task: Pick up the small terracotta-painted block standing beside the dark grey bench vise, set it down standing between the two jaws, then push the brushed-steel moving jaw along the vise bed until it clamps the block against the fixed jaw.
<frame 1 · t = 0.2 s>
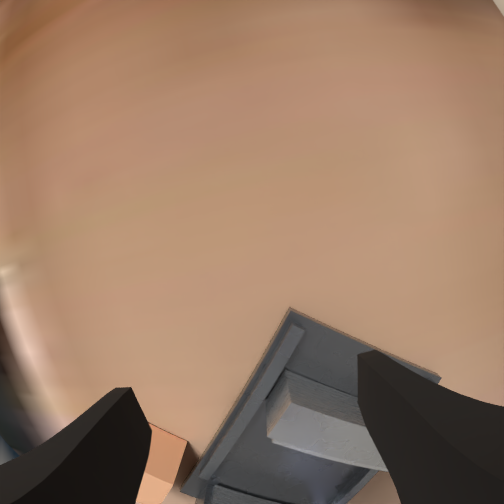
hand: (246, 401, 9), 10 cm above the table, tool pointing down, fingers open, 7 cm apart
vise: (293, 460, 20), on the table
block: (155, 445, 20), on the table
moving jaw: (345, 428, 17), point 3 cm above the table, slide at 0.0 cm
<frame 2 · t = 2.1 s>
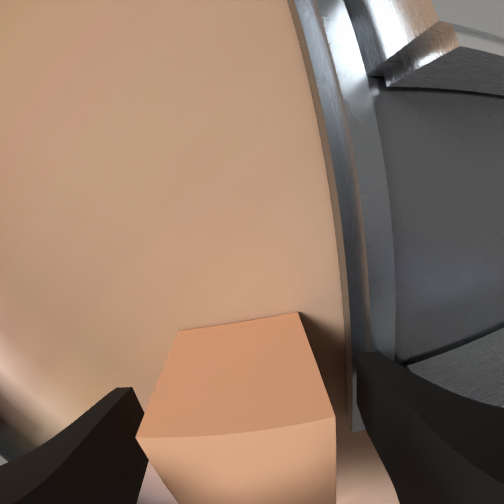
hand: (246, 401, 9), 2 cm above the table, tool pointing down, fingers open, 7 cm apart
vise: (488, 215, 9), on the table
block: (248, 371, 11), on the table
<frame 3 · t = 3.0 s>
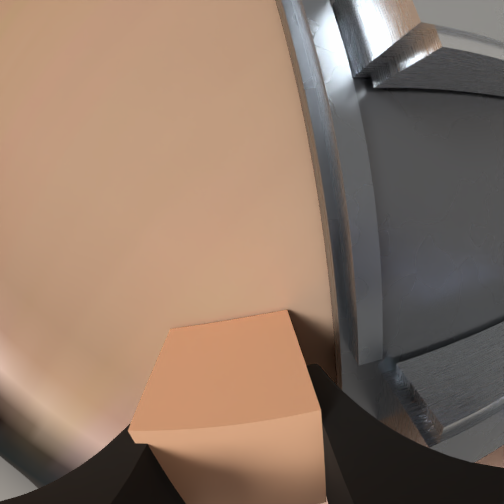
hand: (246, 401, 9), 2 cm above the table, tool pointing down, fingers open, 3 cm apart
vise: (478, 214, 10), on the table
block: (239, 368, 11), on the table, touching gripper
moving jaw: (500, 41, 5), point 3 cm above the table, slide at 0.0 cm
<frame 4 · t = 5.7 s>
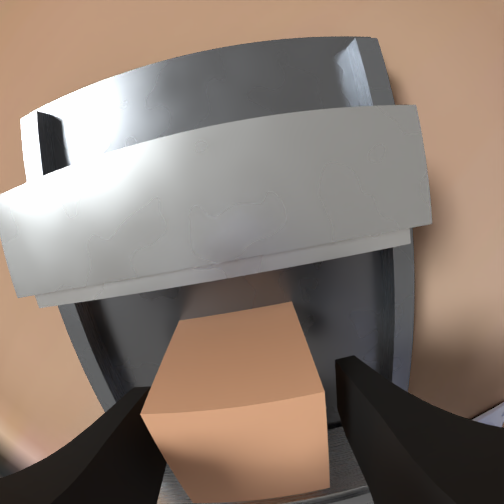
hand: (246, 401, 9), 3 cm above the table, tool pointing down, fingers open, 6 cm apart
vise: (245, 349, 12), on the table
block: (245, 359, 11), point 1 cm above the table, touching vise
moving jaw: (202, 202, 8), point 3 cm above the table, slide at 0.0 cm
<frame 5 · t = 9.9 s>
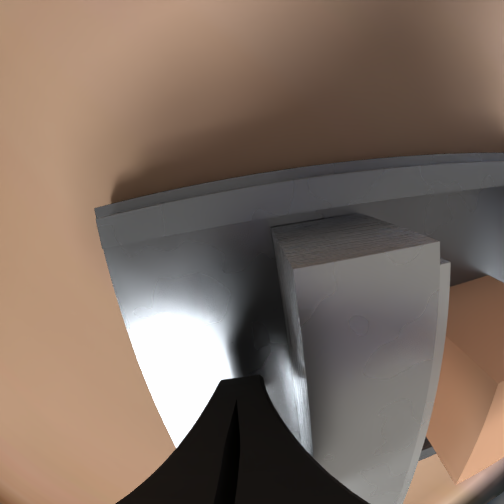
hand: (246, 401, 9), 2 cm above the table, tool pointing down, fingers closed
vise: (437, 326, 10), on the table
block: (446, 336, 10), point 1 cm above the table, touching vise
moving jaw: (354, 406, 8), point 3 cm above the table, slide at 1.5 cm, touching gripper
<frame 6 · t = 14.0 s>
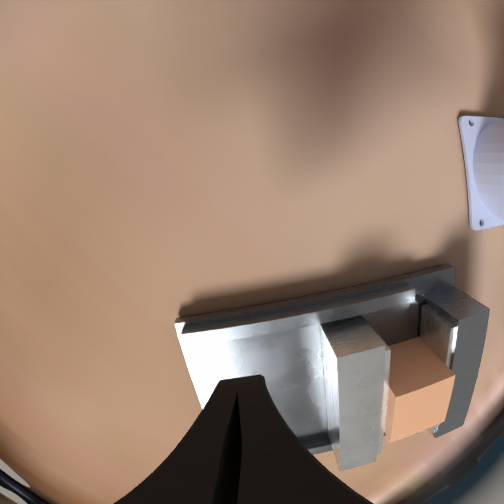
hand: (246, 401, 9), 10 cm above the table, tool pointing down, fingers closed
vise: (356, 370, 20), on the table
block: (392, 367, 19), point 1 cm above the table, touching vise
moving jaw: (354, 399, 17), point 3 cm above the table, slide at 5.0 cm
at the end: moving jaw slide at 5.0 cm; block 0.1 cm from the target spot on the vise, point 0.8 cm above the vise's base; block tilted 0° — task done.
